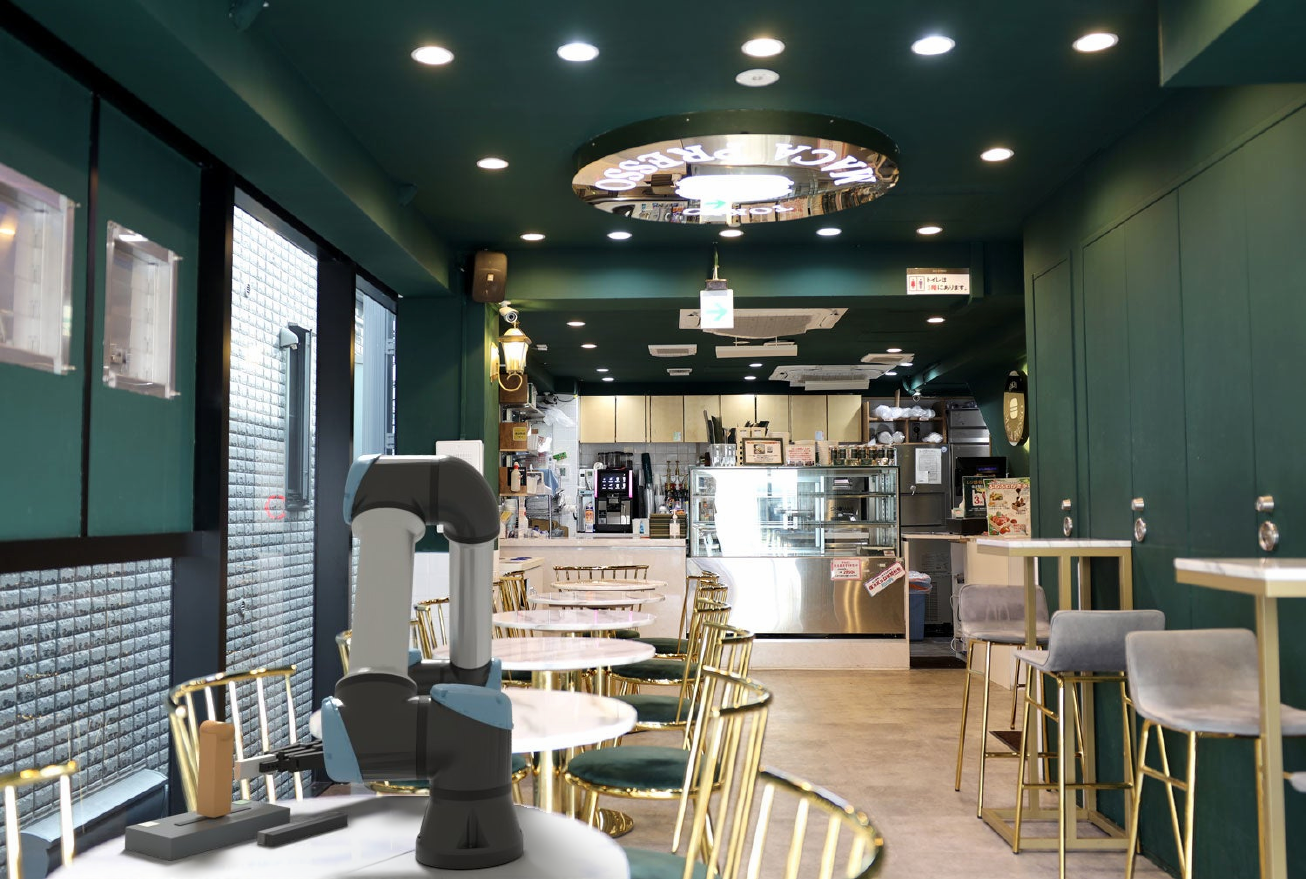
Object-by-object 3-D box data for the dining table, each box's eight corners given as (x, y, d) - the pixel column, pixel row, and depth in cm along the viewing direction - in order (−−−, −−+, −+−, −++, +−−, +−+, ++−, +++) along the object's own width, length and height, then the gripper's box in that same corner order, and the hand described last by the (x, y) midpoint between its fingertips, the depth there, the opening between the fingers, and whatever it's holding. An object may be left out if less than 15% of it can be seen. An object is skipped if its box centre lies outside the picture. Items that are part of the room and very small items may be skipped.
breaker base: (289, 827, 163) (290, 806, 163) (170, 860, 146) (171, 836, 146) (244, 818, 169) (244, 797, 169) (124, 848, 152) (125, 825, 152)
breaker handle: (233, 813, 158) (236, 721, 160) (215, 818, 156) (219, 724, 157) (212, 809, 161) (215, 718, 162) (194, 813, 158) (198, 721, 160)
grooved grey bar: (347, 824, 165) (347, 814, 165) (272, 846, 153) (272, 835, 153) (332, 821, 167) (333, 811, 167) (257, 842, 155) (257, 831, 155)
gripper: (382, 772, 178) (263, 801, 158) (330, 764, 185) (210, 790, 165) (383, 727, 179) (265, 749, 159) (331, 720, 186) (212, 741, 166)
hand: (237, 770), depth 162 cm, fingers closed
